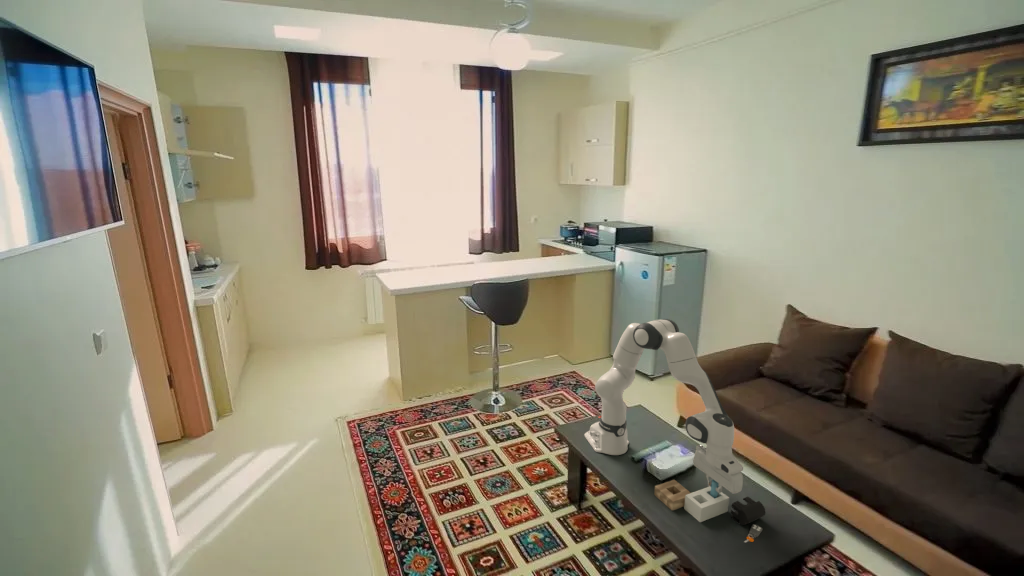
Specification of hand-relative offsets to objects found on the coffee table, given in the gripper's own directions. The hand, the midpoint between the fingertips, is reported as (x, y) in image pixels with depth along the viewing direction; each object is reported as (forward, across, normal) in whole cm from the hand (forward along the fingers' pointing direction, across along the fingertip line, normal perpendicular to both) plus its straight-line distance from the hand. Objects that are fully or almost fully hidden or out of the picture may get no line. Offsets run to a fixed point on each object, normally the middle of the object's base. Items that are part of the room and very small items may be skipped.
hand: (714, 488), depth 176 cm
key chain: (+9, +17, +1) cm, 19 cm away
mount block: (+8, -10, -10) cm, 17 cm away
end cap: (+8, +10, +6) cm, 15 cm away
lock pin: (+7, 0, 0) cm, 7 cm away
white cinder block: (+8, 0, -4) cm, 9 cm away
